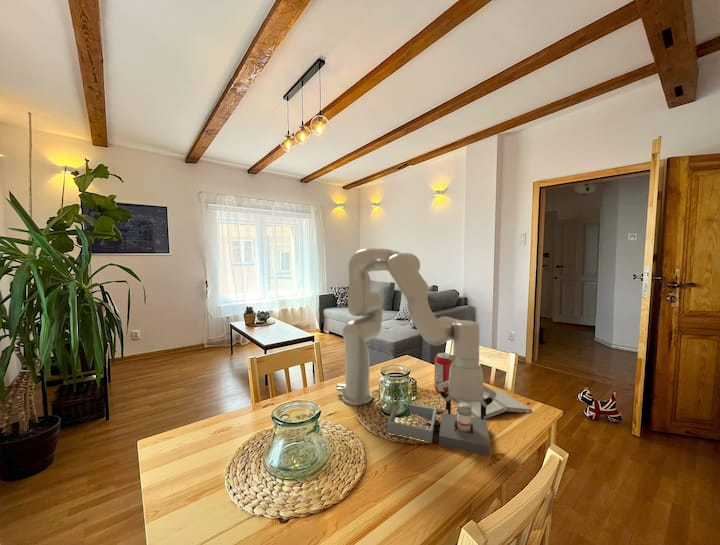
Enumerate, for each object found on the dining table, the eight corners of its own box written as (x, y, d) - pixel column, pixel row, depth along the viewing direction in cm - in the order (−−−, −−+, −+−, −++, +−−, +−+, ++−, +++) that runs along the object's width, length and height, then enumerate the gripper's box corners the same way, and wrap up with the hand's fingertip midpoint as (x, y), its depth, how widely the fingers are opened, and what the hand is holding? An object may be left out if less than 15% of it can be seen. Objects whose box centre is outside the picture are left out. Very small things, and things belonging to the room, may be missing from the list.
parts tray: (386, 434, 94) (387, 422, 94) (396, 412, 107) (396, 401, 107) (431, 443, 90) (432, 431, 89) (436, 419, 103) (436, 408, 103)
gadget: (502, 394, 123) (503, 385, 122) (532, 413, 108) (532, 403, 108) (453, 401, 117) (454, 392, 117) (478, 422, 102) (478, 412, 102)
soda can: (433, 392, 123) (434, 357, 122) (434, 384, 130) (435, 351, 129) (453, 395, 120) (454, 359, 119) (453, 387, 128) (454, 353, 127)
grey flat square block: (438, 445, 89) (438, 435, 89) (442, 420, 102) (442, 412, 102) (489, 456, 84) (489, 446, 84) (486, 428, 97) (486, 419, 97)
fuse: (456, 439, 92) (457, 408, 91) (456, 431, 96) (457, 401, 95) (470, 442, 91) (471, 410, 90) (470, 434, 95) (471, 403, 94)
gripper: (436, 362, 91) (435, 416, 92) (498, 368, 85) (497, 426, 86) (438, 354, 98) (438, 404, 99) (495, 360, 92) (494, 413, 93)
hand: (465, 414), depth 93 cm, fingers open, 9 cm apart
